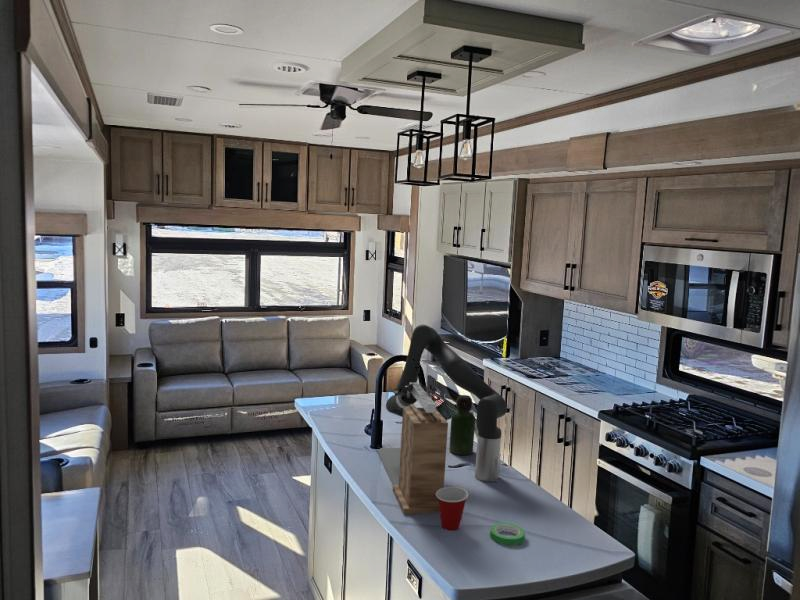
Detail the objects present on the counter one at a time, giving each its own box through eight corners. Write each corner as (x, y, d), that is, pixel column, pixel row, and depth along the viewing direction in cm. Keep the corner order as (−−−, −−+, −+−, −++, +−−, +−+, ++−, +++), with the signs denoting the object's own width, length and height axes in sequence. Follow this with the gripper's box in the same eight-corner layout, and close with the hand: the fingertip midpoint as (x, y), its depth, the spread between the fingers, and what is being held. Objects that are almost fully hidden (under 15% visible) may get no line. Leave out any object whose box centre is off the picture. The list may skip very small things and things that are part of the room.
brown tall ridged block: (392, 490, 247) (397, 403, 243) (433, 489, 250) (439, 403, 246) (403, 514, 227) (409, 420, 223) (448, 512, 231) (454, 420, 227)
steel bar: (409, 390, 253) (409, 382, 253) (416, 390, 254) (417, 382, 253) (426, 412, 226) (427, 404, 226) (435, 412, 227) (435, 404, 226)
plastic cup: (427, 521, 223) (430, 487, 221) (456, 517, 227) (458, 484, 226) (442, 536, 213) (444, 501, 211) (471, 532, 217) (474, 497, 216)
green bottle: (466, 447, 298) (470, 393, 295) (476, 455, 289) (480, 399, 286) (445, 448, 295) (449, 393, 292) (454, 456, 285) (458, 400, 282)
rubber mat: (375, 449, 289) (376, 448, 289) (407, 448, 292) (407, 447, 292) (394, 489, 248) (394, 487, 248) (430, 488, 251) (430, 486, 251)
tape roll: (501, 548, 208) (502, 540, 208) (483, 532, 218) (484, 525, 218) (531, 543, 212) (531, 535, 212) (512, 528, 222) (512, 520, 222)
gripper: (389, 388, 263) (397, 376, 248) (423, 388, 266) (434, 376, 250) (390, 406, 260) (398, 396, 245) (424, 406, 263) (435, 396, 248)
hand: (416, 386), depth 248 cm, fingers closed on steel bar, 3 cm apart
